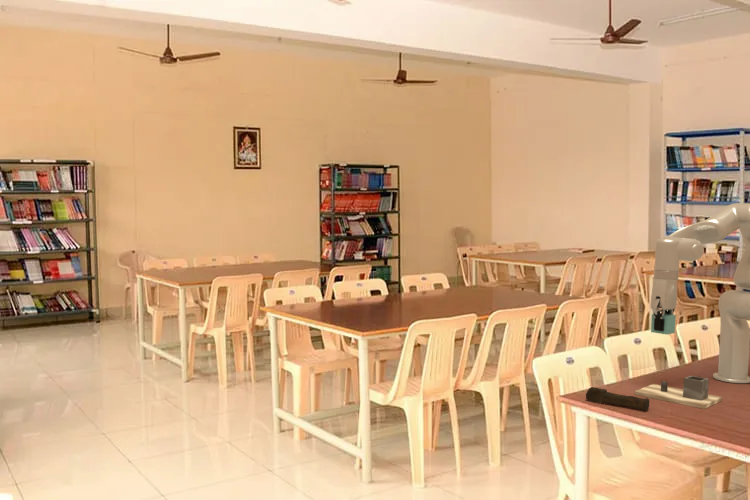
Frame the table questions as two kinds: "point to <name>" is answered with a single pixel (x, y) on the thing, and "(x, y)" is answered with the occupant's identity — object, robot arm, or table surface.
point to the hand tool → (616, 399)
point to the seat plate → (683, 393)
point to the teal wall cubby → (665, 324)
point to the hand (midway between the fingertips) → (663, 329)
